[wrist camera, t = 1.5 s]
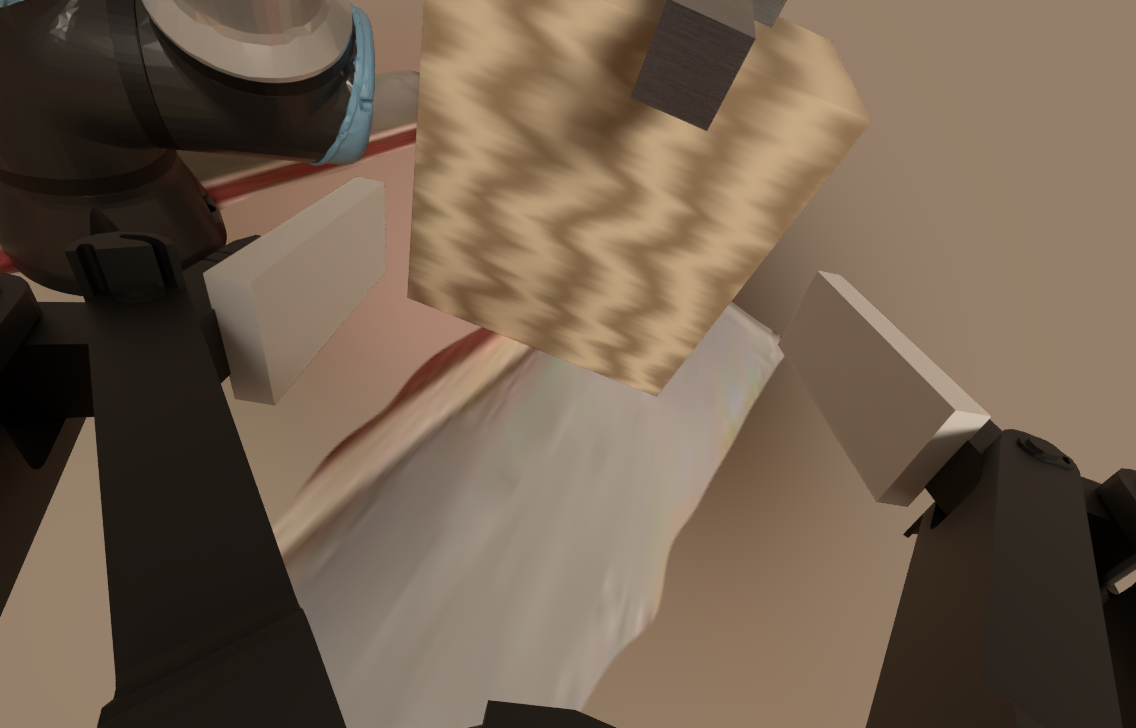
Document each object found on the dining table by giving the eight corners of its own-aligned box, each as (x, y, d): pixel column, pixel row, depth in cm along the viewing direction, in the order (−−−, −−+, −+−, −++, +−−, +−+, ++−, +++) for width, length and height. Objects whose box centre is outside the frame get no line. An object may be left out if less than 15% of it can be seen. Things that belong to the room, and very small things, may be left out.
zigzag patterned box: (407, 297, 49) (428, -79, 27) (477, 202, 62) (530, -103, 40) (656, 396, 51) (871, 121, 29) (673, 283, 64) (829, 35, 42)
